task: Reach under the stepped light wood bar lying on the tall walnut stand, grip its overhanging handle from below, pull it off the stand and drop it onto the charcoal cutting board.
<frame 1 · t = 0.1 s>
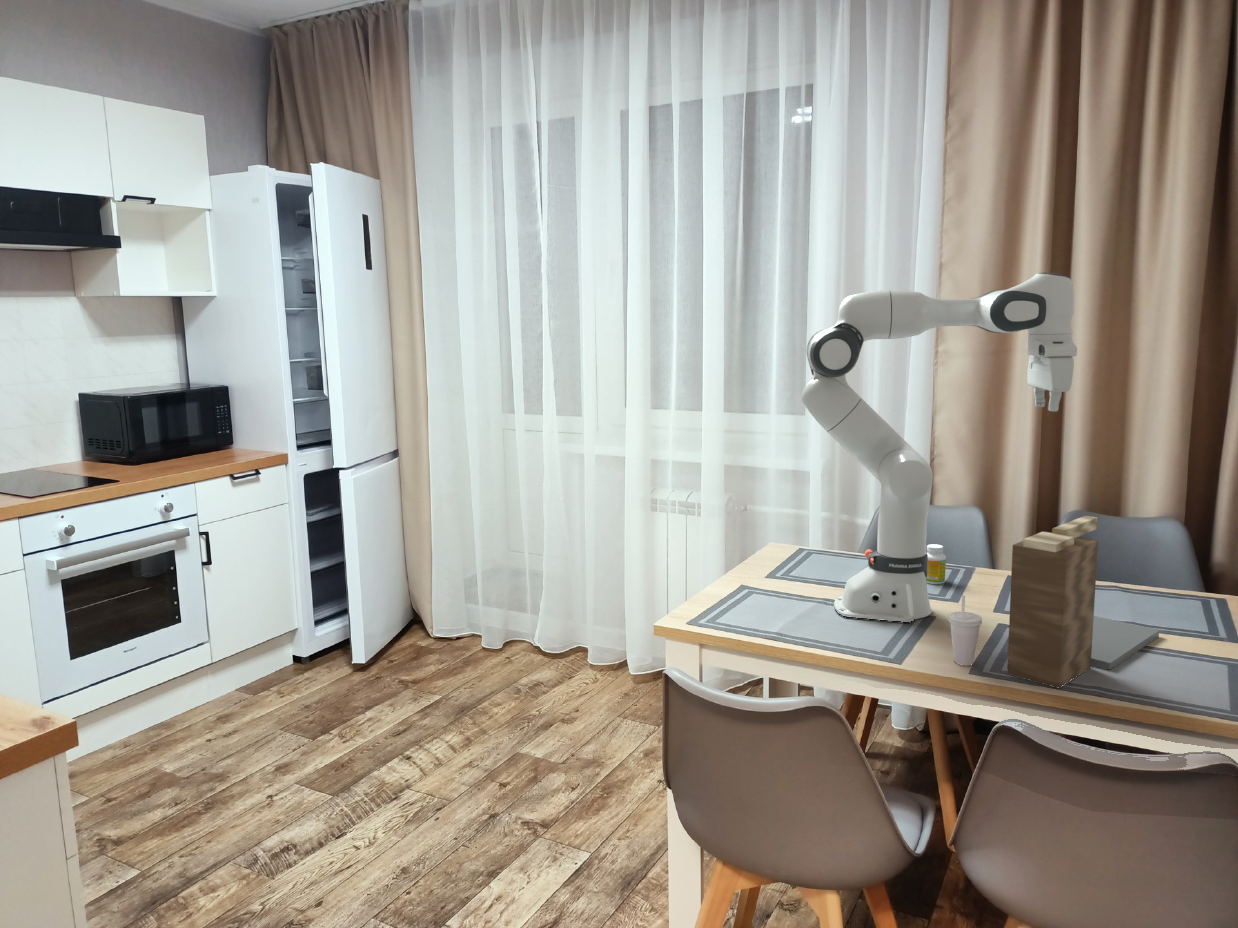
hand: (1046, 409, 201), 48 cm above the table, tool pointing down, fingers open, 8 cm apart
supplement bottle: (934, 582, 235), on the table
stepped light wood bar: (1064, 538, 174), point 26 cm above the table, touching walnut stand
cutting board: (1094, 642, 189), on the table
smoothie: (963, 663, 181), on the table
walnut stand: (1049, 670, 176), on the table
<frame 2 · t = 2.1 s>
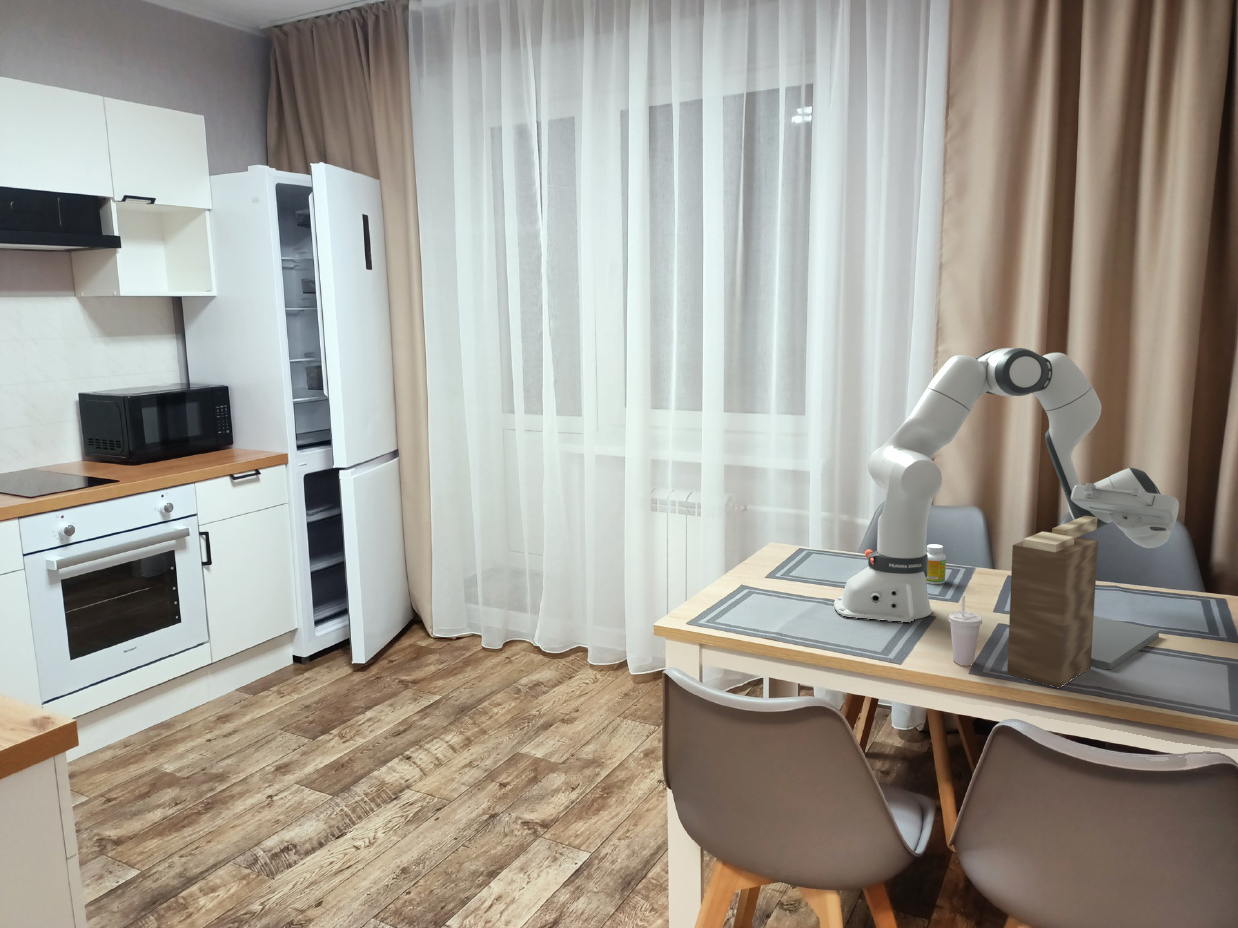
hand: (1112, 489, 187), 33 cm above the table, tool pointing upward, fingers open, 8 cm apart
nothing on the table moved.
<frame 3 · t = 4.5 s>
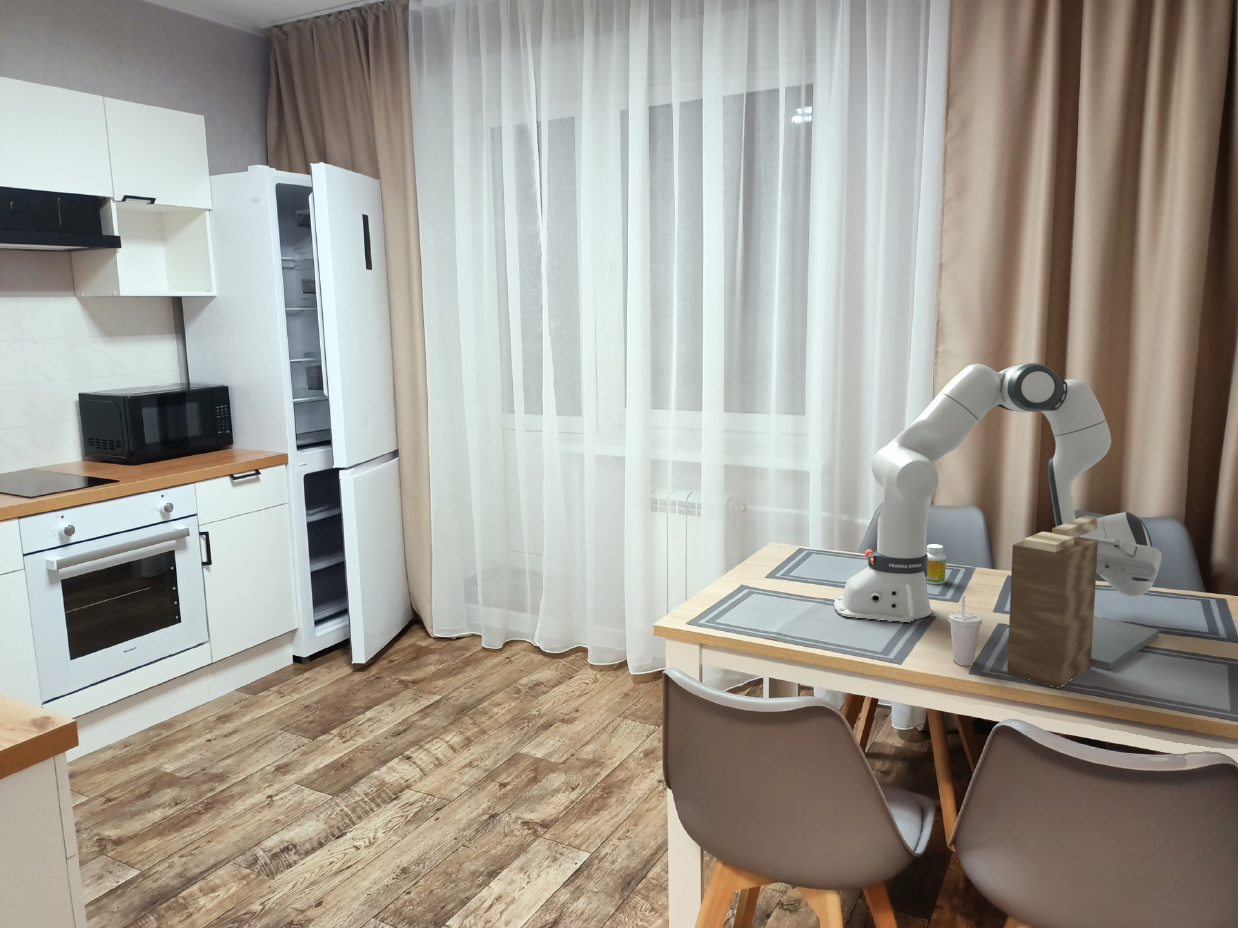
hand: (1093, 538, 184), 23 cm above the table, tool pointing upward, fingers open, 8 cm apart
nothing on the table moved.
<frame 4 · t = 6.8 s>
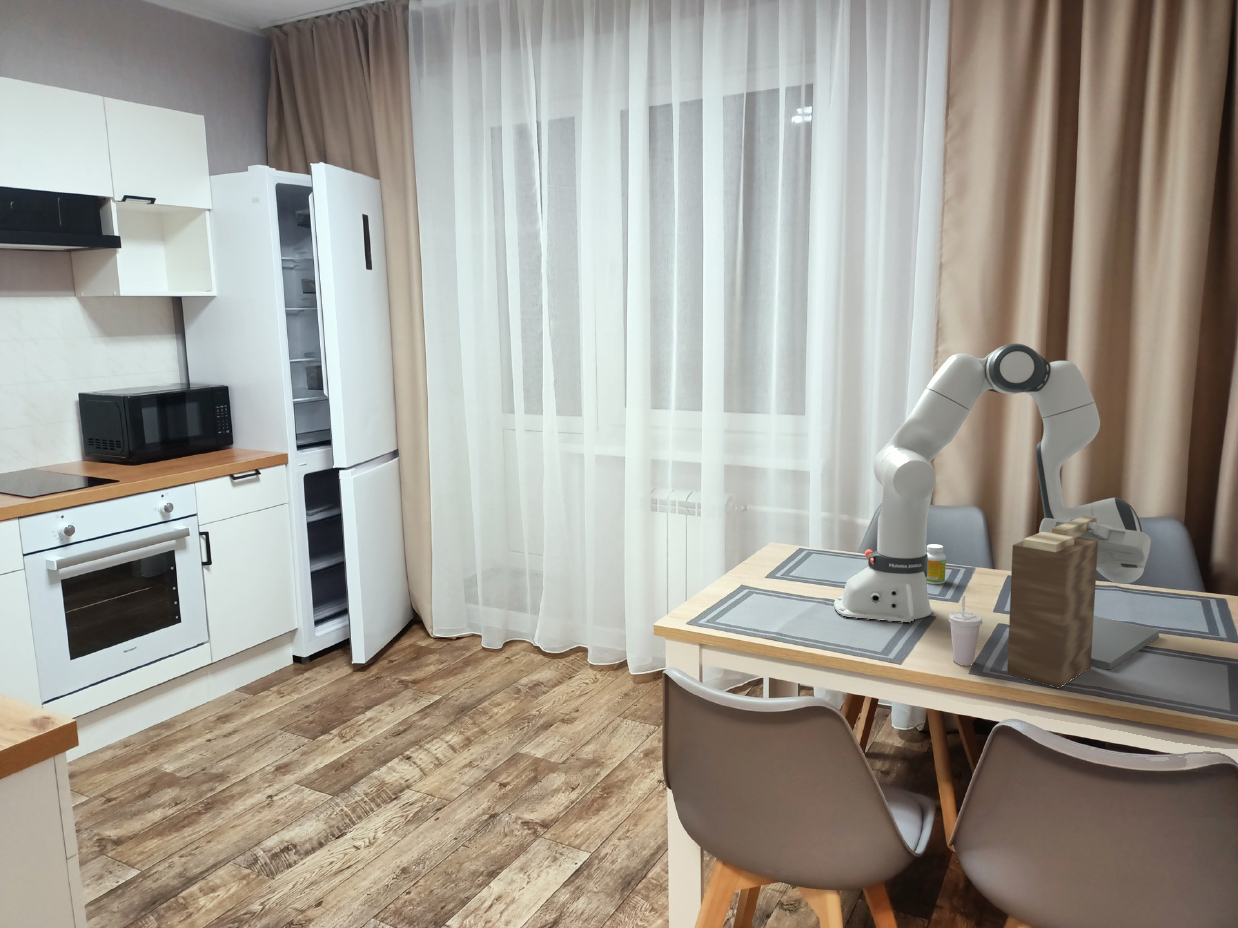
hand: (1080, 524, 178), 28 cm above the table, tool pointing upward, fingers closed on stepped light wood bar, 2 cm apart
stepped light wood bar: (1064, 538, 174), point 26 cm above the table, touching gripper, walnut stand
everything else where it was.
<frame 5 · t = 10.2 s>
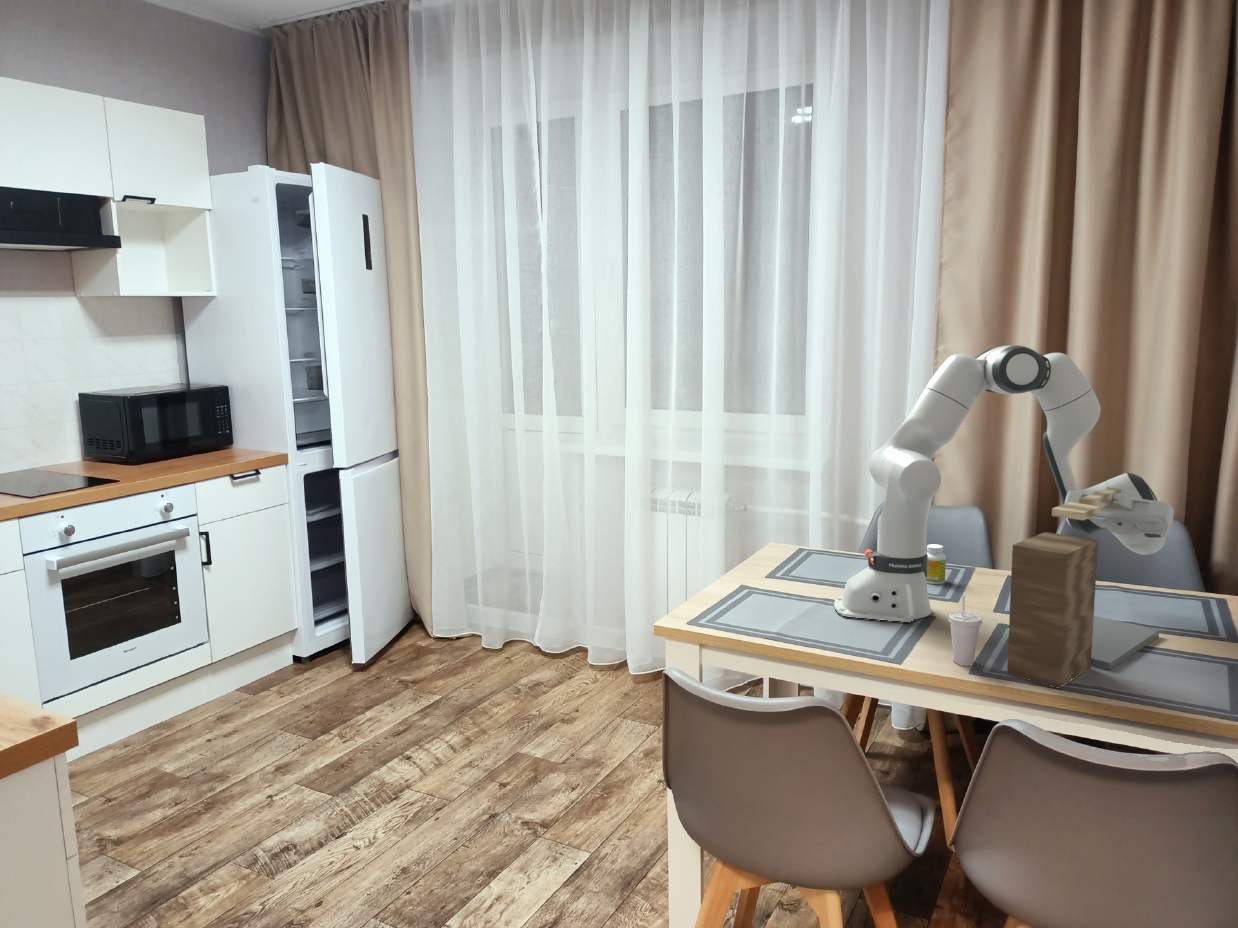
hand: (1106, 495, 185), 32 cm above the table, tool pointing upward, fingers closed on stepped light wood bar, 2 cm apart
stepped light wood bar: (1091, 508, 181), point 30 cm above the table, touching gripper
everything else where it was.
when the fingers open (19 cm above the table, at t = 14.0 s): stepped light wood bar drops 16 cm, resting on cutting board.
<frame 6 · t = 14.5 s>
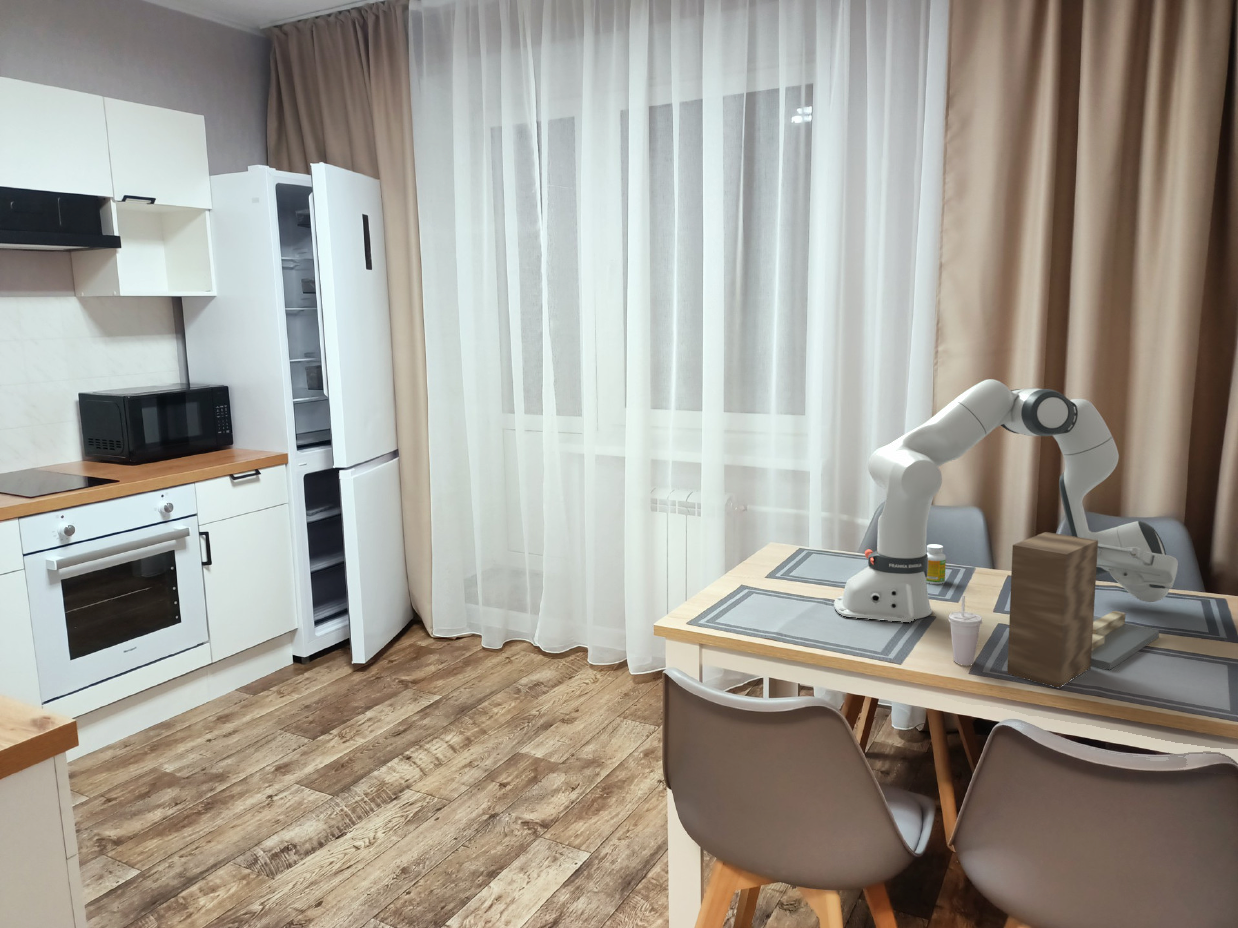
hand: (1112, 547, 190), 19 cm above the table, tool pointing upward, fingers open, 8 cm apart
stepped light wood bar: (1095, 635, 189), point 1 cm above the table, touching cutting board
everything else where it was.
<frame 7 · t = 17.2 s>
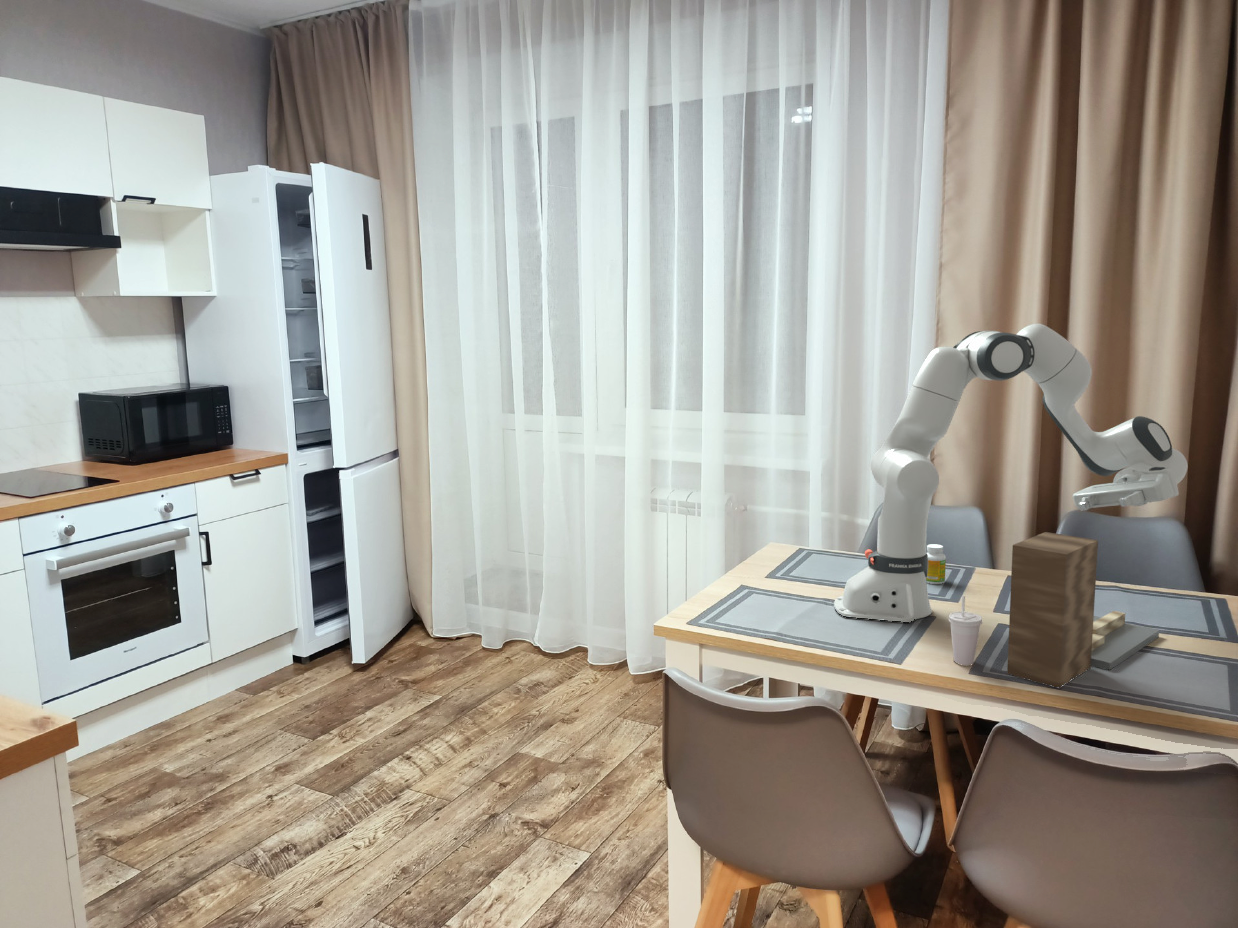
hand: (1102, 505, 193), 28 cm above the table, tool horizontal, fingers open, 8 cm apart
nothing on the table moved.
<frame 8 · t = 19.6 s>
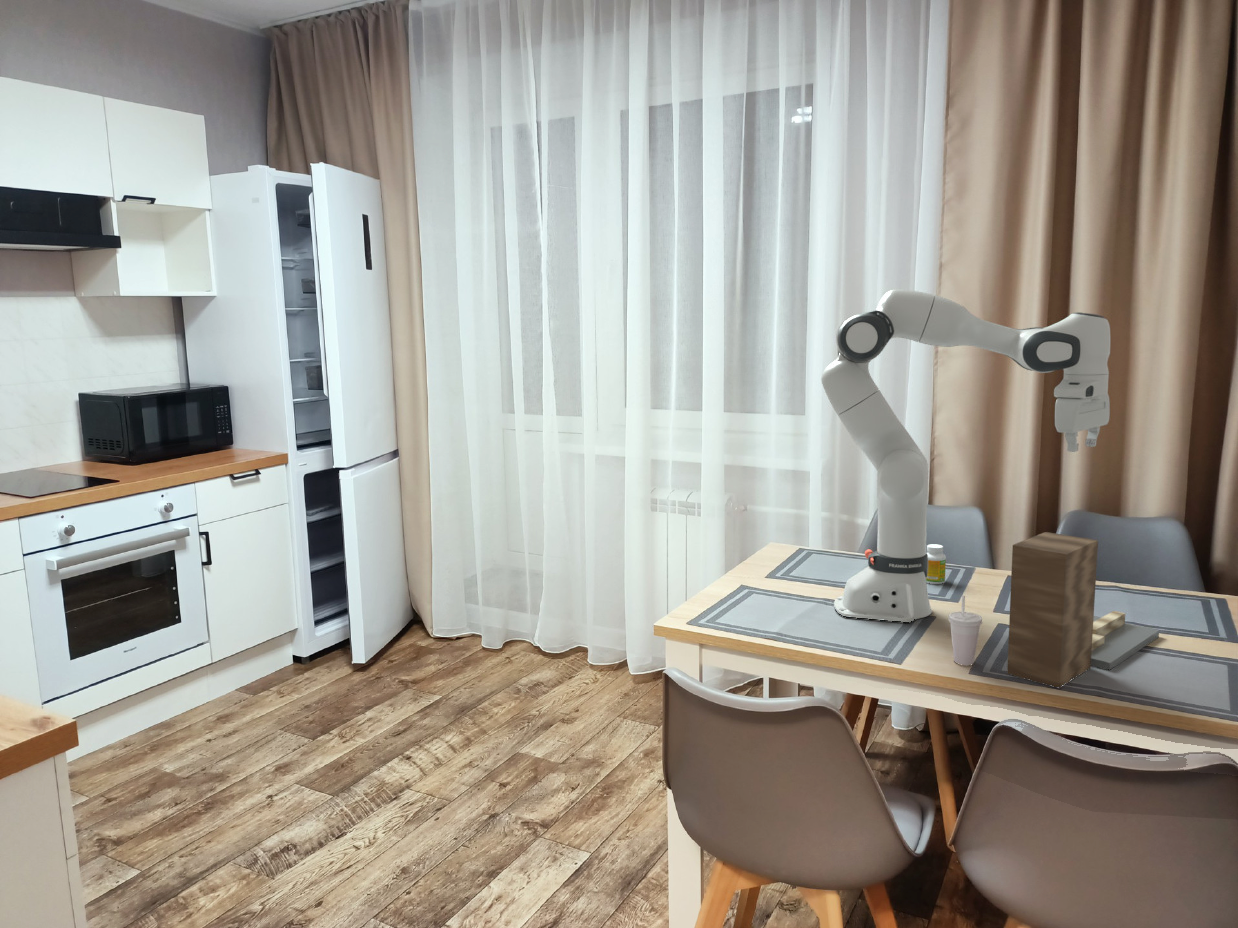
hand: (1081, 449, 199), 39 cm above the table, tool pointing down, fingers open, 8 cm apart
nothing on the table moved.
at the end: stepped light wood bar inside the target area on the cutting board (0.3 cm from its centre), point 1.5 cm above the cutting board's base; stepped light wood bar point 1.5 cm above the table; the gripper is holding nothing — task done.
